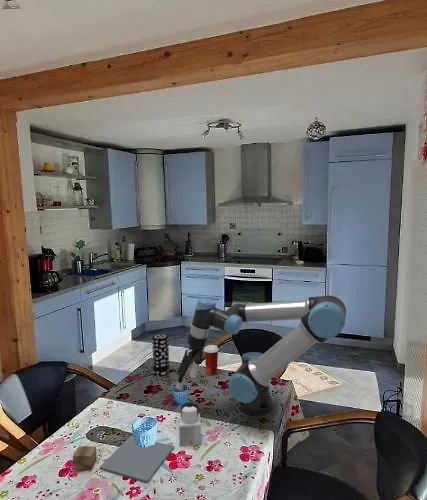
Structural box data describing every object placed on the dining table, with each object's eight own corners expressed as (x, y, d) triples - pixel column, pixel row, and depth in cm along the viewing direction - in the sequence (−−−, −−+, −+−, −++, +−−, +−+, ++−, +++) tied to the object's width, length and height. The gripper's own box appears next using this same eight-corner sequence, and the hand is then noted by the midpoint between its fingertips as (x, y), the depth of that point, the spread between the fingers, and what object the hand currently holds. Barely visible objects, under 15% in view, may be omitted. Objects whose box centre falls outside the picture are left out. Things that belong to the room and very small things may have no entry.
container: (179, 433, 137) (179, 400, 136) (200, 432, 138) (199, 399, 136) (179, 446, 129) (178, 411, 128) (200, 444, 130) (200, 410, 129)
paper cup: (219, 370, 193) (219, 345, 191) (218, 376, 185) (217, 350, 184) (204, 369, 193) (204, 344, 192) (203, 376, 186) (202, 349, 185)
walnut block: (96, 460, 122) (96, 446, 122) (91, 470, 117) (90, 456, 117) (79, 460, 123) (78, 446, 122) (73, 470, 118) (72, 456, 117)
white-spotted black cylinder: (171, 371, 192) (170, 334, 191) (164, 377, 185) (163, 339, 183) (157, 369, 195) (157, 333, 193) (150, 375, 187) (149, 338, 185)
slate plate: (174, 448, 128) (174, 446, 128) (147, 483, 111) (147, 480, 111) (131, 437, 135) (131, 435, 134) (99, 469, 118) (99, 466, 118)
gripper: (201, 325, 161) (190, 369, 163) (176, 339, 138) (163, 390, 140) (217, 331, 158) (205, 376, 161) (193, 347, 135) (180, 398, 137)
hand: (185, 383), depth 150 cm, fingers open, 13 cm apart
